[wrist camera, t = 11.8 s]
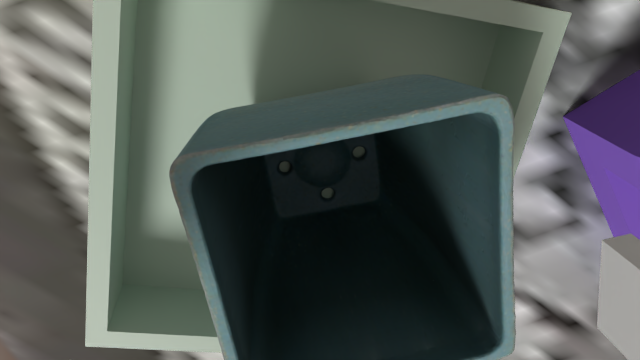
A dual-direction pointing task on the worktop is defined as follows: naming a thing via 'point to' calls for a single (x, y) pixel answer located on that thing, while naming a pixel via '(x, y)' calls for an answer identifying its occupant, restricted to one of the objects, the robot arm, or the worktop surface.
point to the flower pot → (356, 223)
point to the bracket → (612, 151)
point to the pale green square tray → (245, 89)
